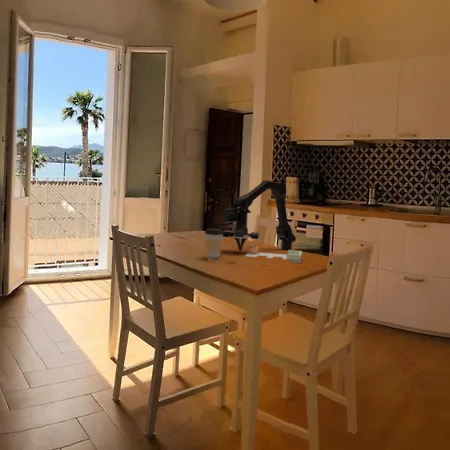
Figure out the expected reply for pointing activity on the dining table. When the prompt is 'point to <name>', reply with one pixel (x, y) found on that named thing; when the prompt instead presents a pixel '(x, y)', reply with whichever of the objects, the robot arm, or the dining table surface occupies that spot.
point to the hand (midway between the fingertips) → (240, 250)
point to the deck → (282, 255)
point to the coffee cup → (213, 243)
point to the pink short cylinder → (253, 249)
